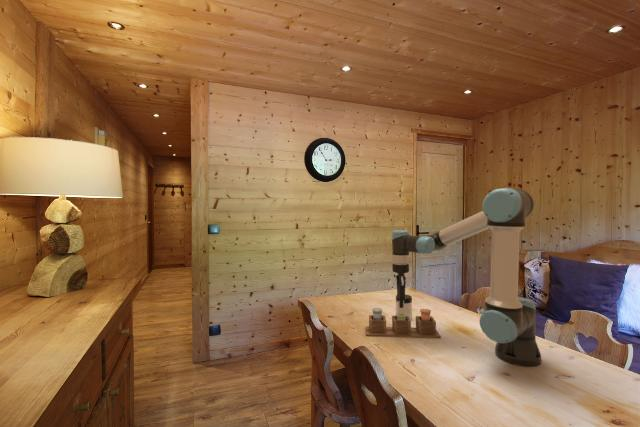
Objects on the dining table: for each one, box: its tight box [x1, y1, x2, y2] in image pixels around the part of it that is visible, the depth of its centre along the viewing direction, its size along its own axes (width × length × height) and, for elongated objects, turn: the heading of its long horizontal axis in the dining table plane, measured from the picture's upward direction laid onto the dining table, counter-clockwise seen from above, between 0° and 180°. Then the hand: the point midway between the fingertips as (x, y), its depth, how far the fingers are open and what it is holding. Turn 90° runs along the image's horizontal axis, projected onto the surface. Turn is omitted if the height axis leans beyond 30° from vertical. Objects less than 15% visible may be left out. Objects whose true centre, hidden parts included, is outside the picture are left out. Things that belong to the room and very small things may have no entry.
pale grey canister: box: [371, 307, 383, 320], centre depth 150 cm, size 5×5×7 cm
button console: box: [365, 314, 442, 339], centre depth 148 cm, size 10×33×7 cm, turn 84°
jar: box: [395, 294, 413, 322], centre depth 167 cm, size 9×8×12 cm
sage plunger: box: [395, 313, 406, 320], centre depth 148 cm, size 5×5×7 cm
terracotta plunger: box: [419, 308, 432, 321], centre depth 147 cm, size 5×5×7 cm
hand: (401, 313), depth 148 cm, fingers closed
